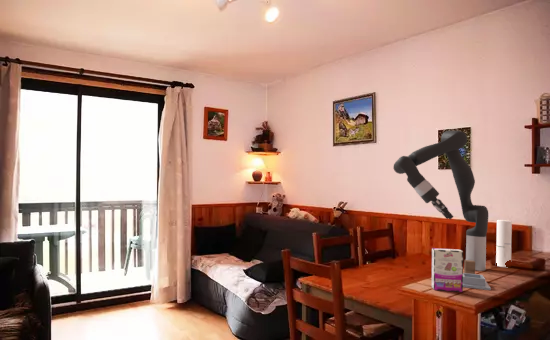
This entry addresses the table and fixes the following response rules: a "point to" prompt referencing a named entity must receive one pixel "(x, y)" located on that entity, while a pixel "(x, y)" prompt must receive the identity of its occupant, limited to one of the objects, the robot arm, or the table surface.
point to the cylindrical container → (503, 242)
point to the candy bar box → (447, 269)
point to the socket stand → (475, 281)
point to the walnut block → (469, 267)
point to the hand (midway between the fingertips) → (450, 218)
